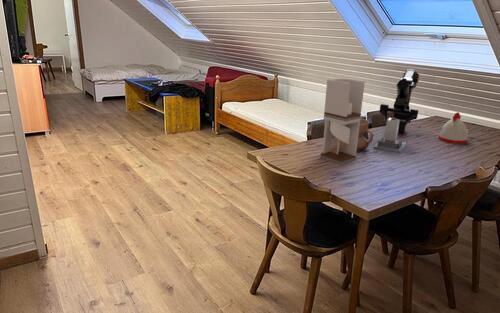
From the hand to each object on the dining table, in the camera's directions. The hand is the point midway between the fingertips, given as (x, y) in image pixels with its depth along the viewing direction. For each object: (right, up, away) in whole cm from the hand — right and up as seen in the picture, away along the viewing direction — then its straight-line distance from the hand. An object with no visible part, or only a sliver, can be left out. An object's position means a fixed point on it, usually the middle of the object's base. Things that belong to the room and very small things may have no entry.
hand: (394, 125), depth 202 cm
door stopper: (-16, -6, +9) cm, 20 cm away
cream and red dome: (+35, -7, +12) cm, 38 cm away
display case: (-34, -17, -23) cm, 45 cm away
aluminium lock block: (-4, -10, -4) cm, 12 cm away
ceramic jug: (-23, -12, -8) cm, 28 cm away
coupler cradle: (-3, -11, -3) cm, 12 cm away
